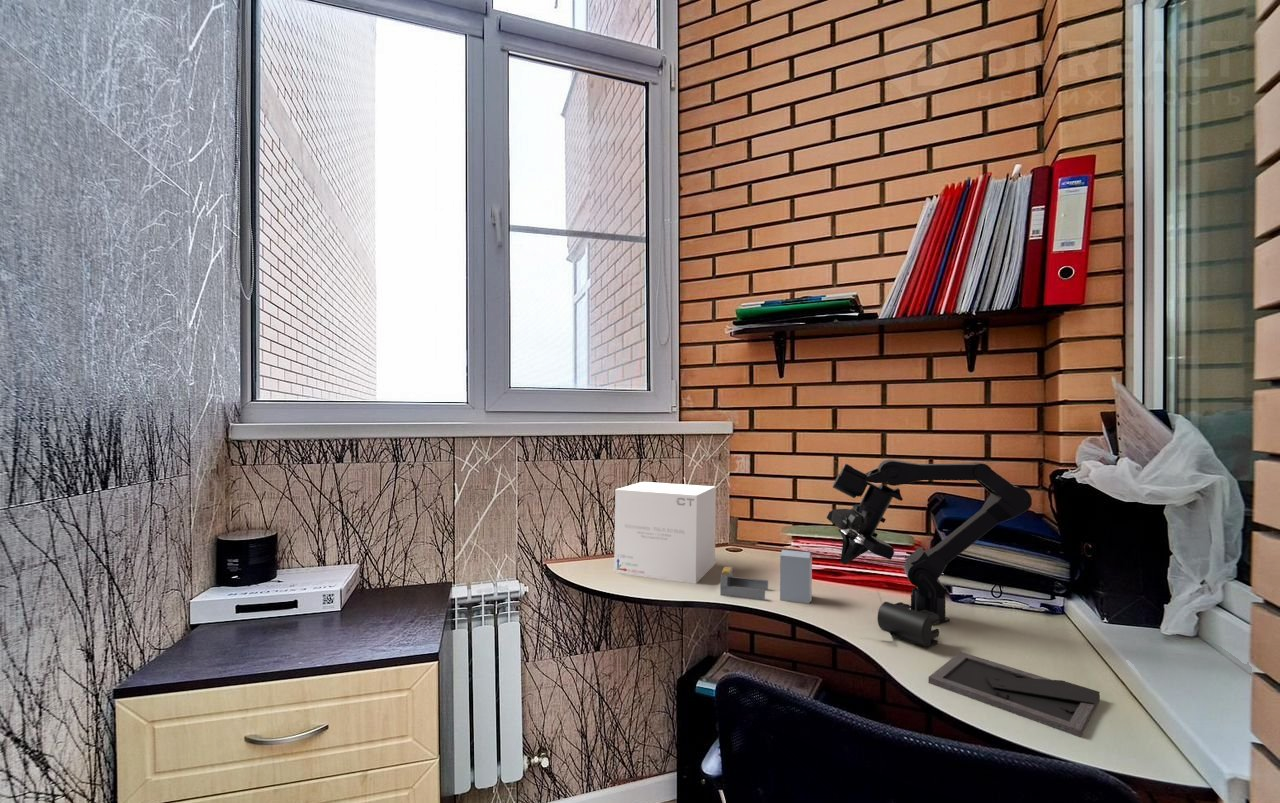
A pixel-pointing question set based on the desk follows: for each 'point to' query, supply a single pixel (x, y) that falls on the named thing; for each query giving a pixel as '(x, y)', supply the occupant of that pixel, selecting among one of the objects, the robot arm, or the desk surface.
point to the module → (795, 576)
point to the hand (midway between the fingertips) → (842, 563)
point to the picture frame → (1019, 692)
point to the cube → (665, 531)
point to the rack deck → (742, 586)
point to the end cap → (909, 623)
